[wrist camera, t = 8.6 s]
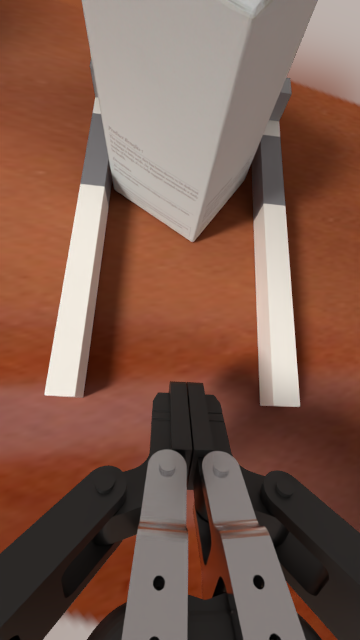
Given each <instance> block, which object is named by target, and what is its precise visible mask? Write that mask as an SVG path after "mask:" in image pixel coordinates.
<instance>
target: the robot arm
mask: <svg viewBox="0 0 360 640" xmlns="http://www.w3.org/2000/svg"><path fill="white" fill-rule="evenodd" d="M187 490H194V505H193V515H194V522H195V529H196V535H197V542H198V549H199V556H200V562H201V571H202V599H200V598H197V597H194V596H191V595H188V530H187V528H186V491H187ZM136 534H137V537H136V544H135V551H134V558H133V564H132V571H131V578H130V585H129V592H128V599H127V602H126V603H124V604H123V605H121V606H119V607H117V608H116V609H115V610H113V611H112V612H111V613H109V614H108V615H107V616H106V617H105V618H104V619H103V620H102V621H101V622H100V623H99V624H98V626H97V627H96V628H95V629H94V630H93V632H92V633H91V635H90V636H89V637H88V639H87V640H322V639H321V638H320V637H319V636H318V634H317V633H316V632H315V631H314V629H313V628H312V627H311V626H310V625H309V624H308V623H307V622H306V621H305V620H304V619H303V618H302V617H301V616H300V615H299V614H297V613H296V610H295V607H294V604H293V601H292V598H291V595H290V592H289V589H288V586H287V583H288V584H289V585H290V586H291V587H292V588H293V589H294V590H295V592H296V593H297V594H298V595H299V596H300V597H301V598H302V599H303V601H304V602H305V603H306V604H307V605H308V606H309V607H310V608H311V610H312V611H313V612H314V613H315V614H316V615H317V616H318V617H319V619H320V620H321V621H322V622H323V623H324V624H325V625H326V626H327V628H328V629H329V630H330V631H331V632H332V633H333V634H334V636H335V637H336V638H337V639H338V640H360V533H359V532H358V531H357V530H355V529H354V528H353V527H352V526H351V525H349V524H348V523H347V522H346V521H345V520H344V519H342V518H341V517H340V516H339V515H338V514H336V513H335V512H334V511H333V510H332V509H331V508H329V507H328V506H327V505H326V504H325V503H324V502H322V501H321V500H320V499H319V498H318V497H316V496H315V495H314V494H313V493H312V492H311V491H309V490H308V489H307V488H306V487H305V486H304V485H302V484H301V483H300V482H299V481H298V480H296V479H295V478H294V477H293V476H291V475H290V474H288V473H286V472H283V471H271V472H269V473H268V474H267V475H266V476H262V475H259V474H256V473H253V472H250V471H248V470H246V469H244V468H243V467H241V466H240V465H239V464H238V462H237V461H236V460H235V458H233V456H232V453H231V449H230V445H229V440H228V436H227V432H226V427H225V423H224V418H223V415H222V409H221V405H220V403H219V401H218V400H217V399H216V397H215V396H214V395H205V392H204V386H203V383H193V382H187V383H186V382H171V381H170V385H169V393H158V394H157V395H156V397H155V398H154V400H153V408H152V422H151V439H150V454H149V456H148V458H147V460H146V461H145V462H144V463H143V464H142V465H140V466H139V467H137V468H135V469H132V470H128V471H125V472H122V471H121V470H120V469H118V468H116V467H114V466H102V467H99V468H97V469H95V470H94V471H92V472H91V473H90V474H89V475H88V476H87V477H85V478H84V479H83V480H82V481H81V482H80V483H79V484H78V485H77V486H75V487H74V488H73V489H72V490H71V491H70V492H69V493H68V494H66V495H65V496H64V497H63V498H62V499H61V500H60V501H59V502H58V503H56V504H55V505H54V506H53V507H52V508H51V509H50V510H49V511H48V512H46V513H45V514H44V515H43V516H42V517H41V518H40V519H39V520H37V521H36V522H35V523H34V524H33V525H32V526H31V527H30V528H29V529H27V530H26V531H25V532H24V533H23V534H22V535H21V536H20V537H18V538H17V539H16V540H15V541H14V542H13V543H12V544H11V545H10V546H8V547H7V548H6V549H5V550H4V551H3V552H2V553H1V554H0V640H43V639H44V637H45V636H46V635H47V634H48V632H49V631H50V630H51V629H52V627H53V626H54V625H55V624H56V623H57V621H58V620H59V619H60V618H61V616H62V615H63V614H64V613H65V611H66V610H67V609H68V608H69V606H70V605H71V604H72V603H73V602H74V600H75V599H76V598H77V597H78V595H79V594H80V593H81V592H82V590H83V589H84V588H85V587H86V585H87V584H88V583H89V582H90V581H91V579H92V578H93V577H94V576H95V574H96V573H97V572H98V571H99V569H100V568H101V567H102V566H103V564H104V563H105V562H106V561H107V559H108V558H109V557H110V556H111V555H112V553H113V552H114V551H115V550H116V548H117V547H118V546H119V545H120V543H121V542H122V540H123V539H125V538H128V537H131V536H133V535H136ZM285 580H286V581H287V583H286V581H285Z"/></svg>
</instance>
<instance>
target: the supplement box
mask: <svg viewBox="0 0 360 640" xmlns="http://www.w3.org/2000/svg"><path fill="white" fill-rule="evenodd" d="M317 1H318V0H82V5H83V11H84V17H85V23H86V29H87V35H88V40H89V46H90V52H91V58H92V64H93V69H94V76H95V81H96V87H97V93H98V99H99V105H100V111H101V117H102V123H103V128H104V134H105V139H106V146H107V151H108V157H109V163H110V169H111V174H112V180H113V186H114V190H116V191H117V192H119V193H120V194H122V195H123V196H125V197H126V198H127V199H129V200H130V201H132V202H133V203H135V204H136V205H138V206H139V207H141V208H142V209H144V210H145V211H147V212H148V213H150V214H151V215H153V216H154V217H156V218H157V219H159V220H160V221H162V222H163V223H165V224H166V225H167V226H169V227H170V228H172V229H173V230H175V231H176V232H178V233H179V234H181V235H182V236H184V237H185V238H187V239H188V240H190V241H191V242H194V241H195V240H196V239H197V237H198V236H199V235H200V234H201V233H202V231H203V230H204V229H205V228H206V226H207V225H208V224H209V223H210V221H211V220H212V219H213V218H214V217H215V216H216V214H217V213H218V212H219V211H220V209H221V208H222V207H223V206H224V205H225V203H226V202H227V201H228V200H229V198H230V197H231V196H232V195H233V194H234V192H235V191H236V190H237V189H238V188H239V186H240V185H241V184H242V183H243V181H244V180H245V178H246V175H247V173H248V170H249V168H250V165H251V163H252V160H253V158H254V155H255V153H256V151H257V148H258V146H259V143H260V141H261V138H262V136H263V133H264V131H265V128H266V126H267V123H268V121H269V119H270V116H271V114H272V111H273V109H274V106H275V104H276V101H277V99H278V97H279V94H280V92H281V89H282V87H283V84H284V82H285V80H286V77H287V75H288V72H289V70H290V67H291V65H292V63H293V60H294V58H295V55H296V53H297V50H298V48H299V45H300V43H301V40H302V38H303V36H304V33H305V31H306V28H307V25H308V23H309V21H310V18H311V16H312V13H313V11H314V8H315V6H316V3H317Z"/></svg>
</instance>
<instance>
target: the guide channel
mask: <svg viewBox="0 0 360 640" xmlns="http://www.w3.org/2000/svg"><path fill="white" fill-rule="evenodd" d="M90 69H91V75H92V80H93V86H94V92H95V102H94V108H93V114H92V120H91V126H90V131H89V137H88V143H87V149H86V155H85V161H84V166H83V172H82V178H81V184H80V190H79V196H78V201H77V207H76V213H75V219H74V225H73V231H72V236H71V242H70V248H69V254H68V260H67V266H66V271H65V277H64V283H63V289H62V295H61V301H60V306H59V312H58V318H57V324H56V330H55V336H54V341H53V347H52V353H51V359H50V365H49V371H48V376H47V382H46V388H45V394H44V395H48V396H59V397H81V398H83V395H84V388H85V380H86V373H87V365H88V358H89V350H90V343H91V335H92V328H93V320H94V313H95V306H96V298H97V291H98V283H99V276H100V268H101V261H102V253H103V246H104V238H105V231H106V223H107V216H108V208H109V201H110V193H111V186H112V174H111V169H110V163H109V157H108V151H107V146H106V139H105V134H104V128H103V123H102V117H101V111H100V105H99V99H98V93H97V87H96V81H95V76H94V69H93V64H92V58H91V62H90ZM291 94H292V93H291V83H290V78H286V80H285V82H284V84H283V87H282V89H281V92H280V94H279V97H278V99H277V101H276V104H275V106H274V109H273V111H272V114H271V116H270V119H269V121H268V123H267V126H266V128H265V131H264V133H263V136H262V138H261V141H260V143H259V146H258V148H257V151H256V153H255V155H254V158H253V160H252V163H251V165H252V193H253V221H254V249H255V276H256V304H257V332H258V360H259V387H260V406H278V407H300V397H299V383H298V370H297V356H296V343H295V330H294V316H293V303H292V289H291V276H290V262H289V249H288V235H287V222H286V208H285V195H284V181H283V168H282V154H281V141H280V127H279V120H280V118H281V116H282V114H283V112H284V109H285V107H286V105H287V103H288V101H289V98H290V96H291Z"/></svg>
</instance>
